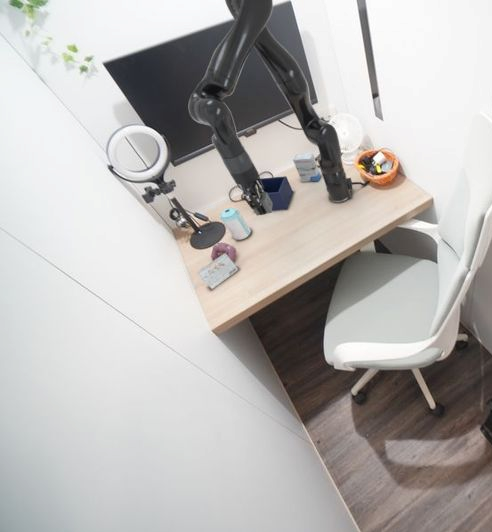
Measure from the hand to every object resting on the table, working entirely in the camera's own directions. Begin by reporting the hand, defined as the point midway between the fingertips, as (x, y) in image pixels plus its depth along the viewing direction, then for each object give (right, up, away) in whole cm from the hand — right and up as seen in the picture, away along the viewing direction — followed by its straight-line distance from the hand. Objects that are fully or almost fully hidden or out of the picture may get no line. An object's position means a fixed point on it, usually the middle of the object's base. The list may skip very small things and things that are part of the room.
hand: (264, 208), depth 110 cm
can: (-18, -7, +22) cm, 29 cm away
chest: (-10, +9, +34) cm, 36 cm away
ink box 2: (+4, +22, +43) cm, 49 cm away
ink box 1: (-17, -25, +7) cm, 31 cm away
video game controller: (-20, -17, +14) cm, 30 cm away
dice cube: (0, 0, 0) cm, 1 cm away
